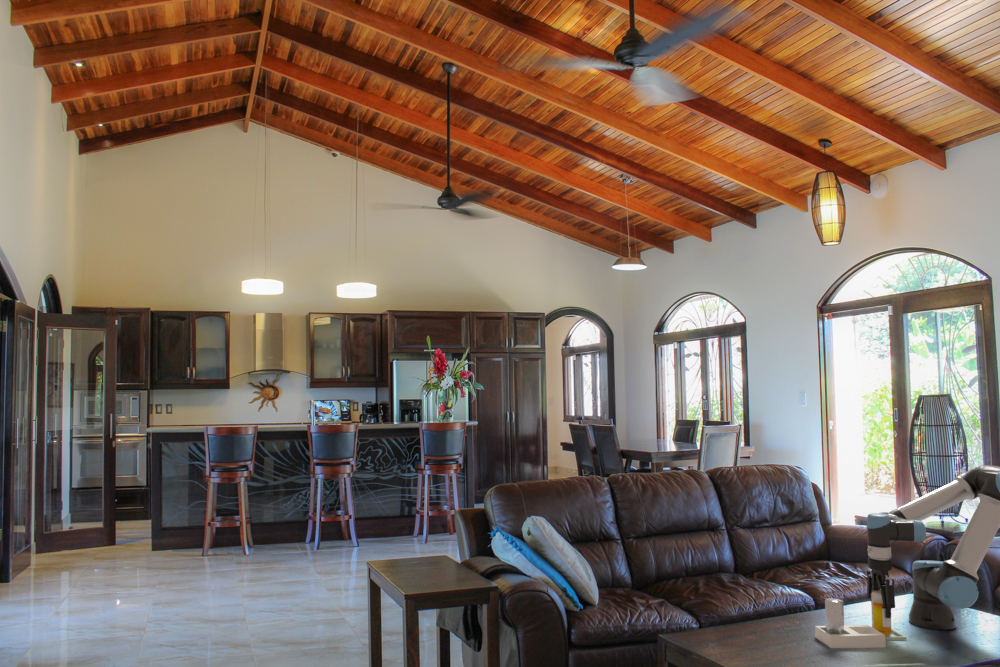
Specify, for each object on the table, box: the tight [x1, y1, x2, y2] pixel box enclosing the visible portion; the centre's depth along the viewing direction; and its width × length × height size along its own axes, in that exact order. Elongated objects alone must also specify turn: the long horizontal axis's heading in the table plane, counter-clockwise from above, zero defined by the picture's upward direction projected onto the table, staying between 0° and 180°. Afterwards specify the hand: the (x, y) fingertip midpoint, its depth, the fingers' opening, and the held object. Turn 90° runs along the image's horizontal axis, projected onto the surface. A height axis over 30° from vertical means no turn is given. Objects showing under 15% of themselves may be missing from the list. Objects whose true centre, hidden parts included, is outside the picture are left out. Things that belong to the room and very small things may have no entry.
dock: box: [814, 624, 887, 649], centre depth 259 cm, size 19×11×4 cm, turn 94°
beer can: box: [870, 590, 892, 637], centre depth 269 cm, size 6×6×15 cm
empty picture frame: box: [885, 628, 908, 641], centre depth 268 cm, size 11×11×1 cm
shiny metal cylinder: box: [824, 597, 845, 635], centre depth 259 cm, size 6×6×14 cm
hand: (881, 623), depth 268 cm, fingers closed on beer can, 6 cm apart
